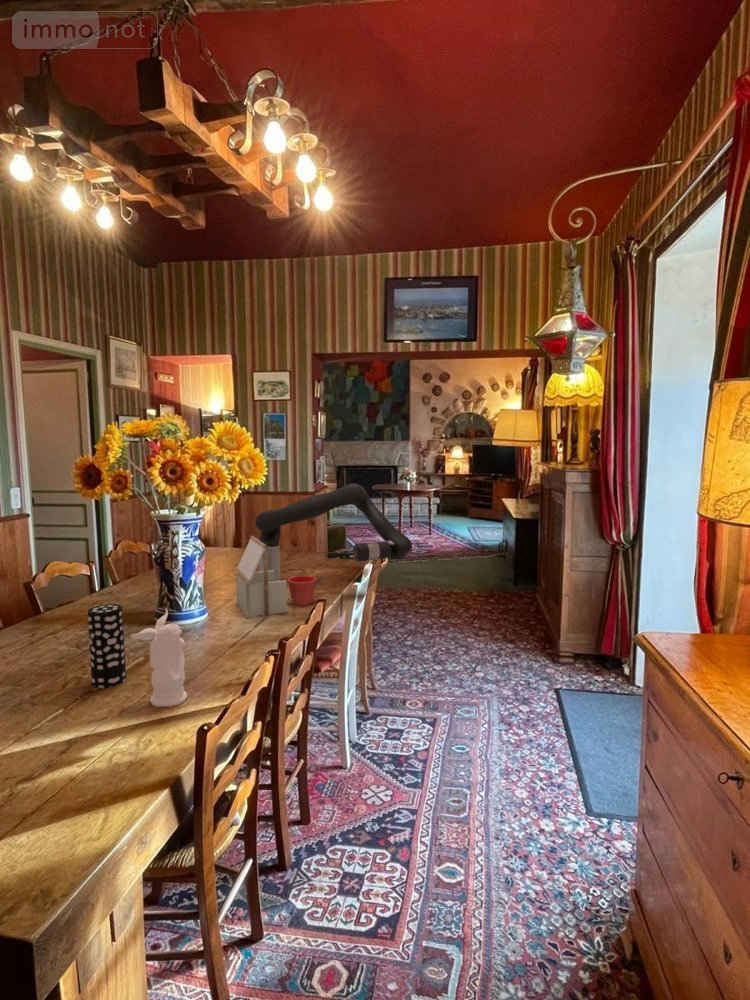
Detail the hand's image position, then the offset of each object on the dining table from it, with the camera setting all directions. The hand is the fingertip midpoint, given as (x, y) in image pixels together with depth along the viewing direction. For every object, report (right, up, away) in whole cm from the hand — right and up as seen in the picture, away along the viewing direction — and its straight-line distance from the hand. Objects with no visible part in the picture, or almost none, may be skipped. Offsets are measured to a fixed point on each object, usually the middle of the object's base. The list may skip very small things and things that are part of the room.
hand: (327, 555), depth 226 cm
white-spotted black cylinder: (-52, -26, -76) cm, 96 cm away
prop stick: (-21, -20, -19) cm, 35 cm away
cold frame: (-25, -19, -9) cm, 33 cm away
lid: (-28, 0, -13) cm, 31 cm away
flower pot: (-10, -19, -3) cm, 21 cm away
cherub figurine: (-34, -27, -87) cm, 98 cm away
